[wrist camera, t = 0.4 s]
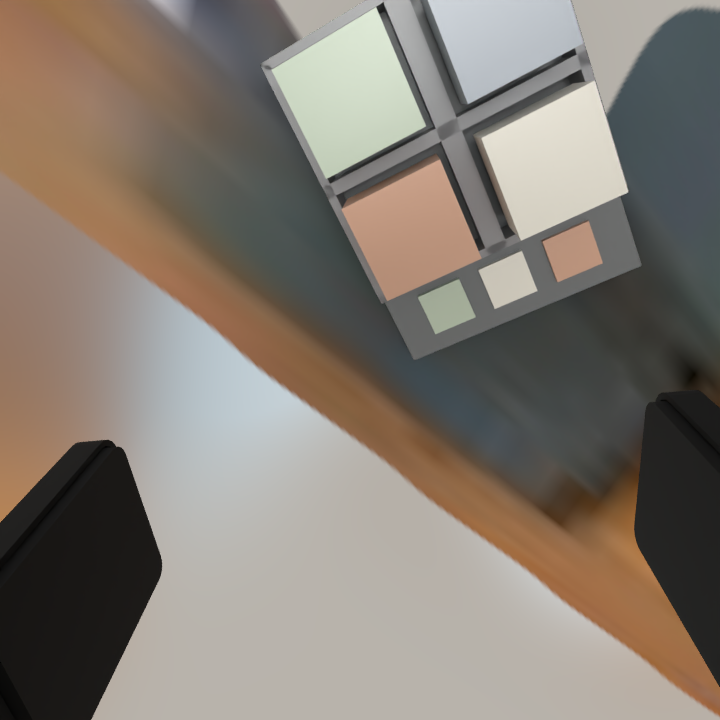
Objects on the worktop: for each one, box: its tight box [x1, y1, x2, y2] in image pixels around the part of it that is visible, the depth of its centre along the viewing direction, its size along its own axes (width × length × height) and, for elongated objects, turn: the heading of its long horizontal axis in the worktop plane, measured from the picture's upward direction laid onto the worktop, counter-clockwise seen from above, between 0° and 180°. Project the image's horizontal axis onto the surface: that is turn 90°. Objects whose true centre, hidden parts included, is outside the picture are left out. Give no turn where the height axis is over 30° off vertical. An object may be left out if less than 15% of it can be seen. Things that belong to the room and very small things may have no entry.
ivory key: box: [473, 81, 628, 241], centre depth 24 cm, size 5×5×3 cm
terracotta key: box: [341, 154, 482, 301], centre depth 26 cm, size 5×5×3 cm
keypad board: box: [260, 0, 642, 360], centre depth 27 cm, size 13×17×4 cm
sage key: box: [272, 7, 426, 179], centre depth 23 cm, size 5×5×3 cm
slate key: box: [420, 0, 583, 104], centre depth 22 cm, size 5×5×3 cm
